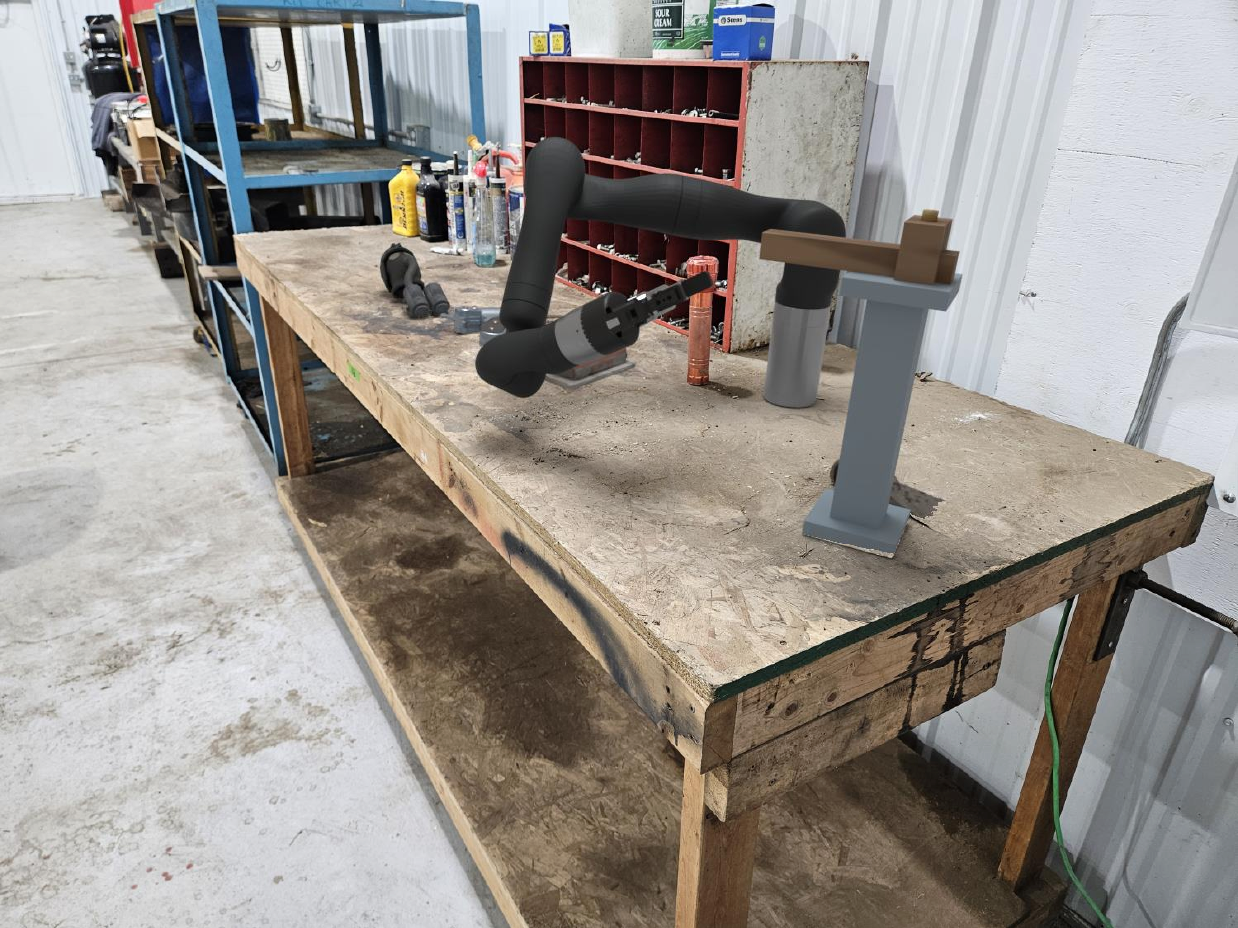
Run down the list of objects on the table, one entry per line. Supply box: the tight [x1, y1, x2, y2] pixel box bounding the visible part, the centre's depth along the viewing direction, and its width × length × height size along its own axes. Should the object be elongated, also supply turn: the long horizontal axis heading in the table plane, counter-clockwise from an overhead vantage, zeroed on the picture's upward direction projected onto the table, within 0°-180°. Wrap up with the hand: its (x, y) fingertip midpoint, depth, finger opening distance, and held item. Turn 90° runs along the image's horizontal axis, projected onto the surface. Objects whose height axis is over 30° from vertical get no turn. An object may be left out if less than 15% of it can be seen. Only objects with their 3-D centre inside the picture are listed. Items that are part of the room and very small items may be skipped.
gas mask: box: [379, 242, 451, 320], centre depth 189 cm, size 15×9×26 cm
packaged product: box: [544, 347, 636, 390], centre depth 151 cm, size 18×5×10 cm
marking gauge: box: [758, 209, 961, 286], centre depth 89 cm, size 6×21×7 cm, turn 62°
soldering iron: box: [439, 305, 564, 347], centre depth 172 cm, size 6×28×16 cm
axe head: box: [829, 459, 946, 519], centre depth 109 cm, size 20×5×10 cm
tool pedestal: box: [801, 271, 963, 554], centre depth 95 cm, size 10×11×32 cm
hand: (697, 284), depth 100 cm, fingers open, 8 cm apart
